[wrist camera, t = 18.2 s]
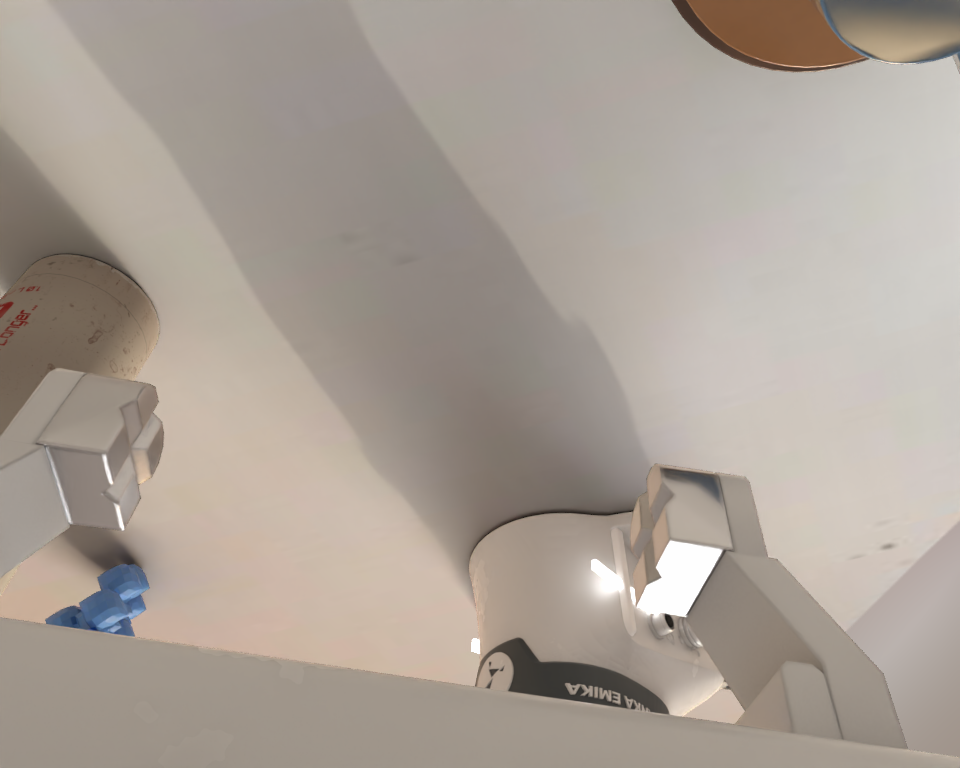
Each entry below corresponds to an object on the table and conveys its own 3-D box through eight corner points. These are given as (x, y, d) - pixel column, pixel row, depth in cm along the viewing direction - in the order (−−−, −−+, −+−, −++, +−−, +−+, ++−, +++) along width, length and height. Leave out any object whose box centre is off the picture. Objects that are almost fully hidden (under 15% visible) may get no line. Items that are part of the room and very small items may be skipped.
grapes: (81, 511, 60) (-4, 657, 51) (171, 535, 61) (103, 682, 52) (81, 592, 67) (6, 731, 58) (161, 611, 68) (100, 751, 59)
